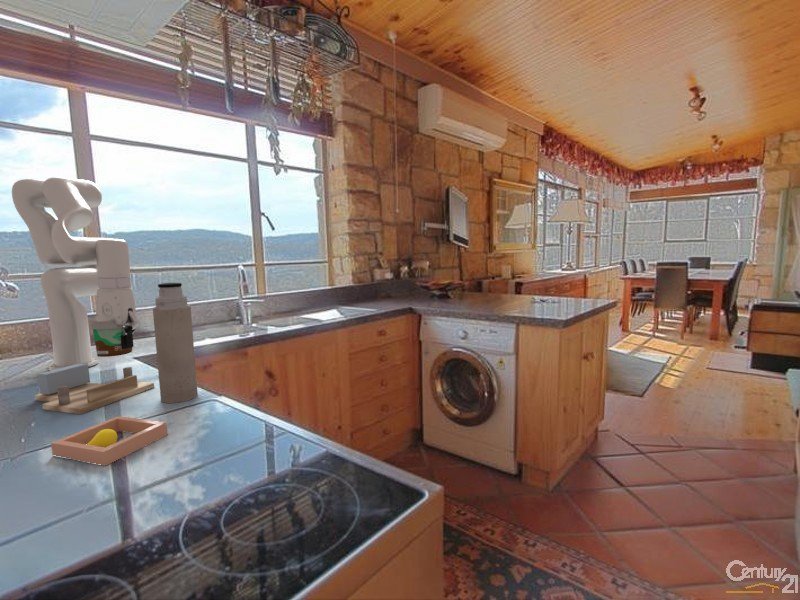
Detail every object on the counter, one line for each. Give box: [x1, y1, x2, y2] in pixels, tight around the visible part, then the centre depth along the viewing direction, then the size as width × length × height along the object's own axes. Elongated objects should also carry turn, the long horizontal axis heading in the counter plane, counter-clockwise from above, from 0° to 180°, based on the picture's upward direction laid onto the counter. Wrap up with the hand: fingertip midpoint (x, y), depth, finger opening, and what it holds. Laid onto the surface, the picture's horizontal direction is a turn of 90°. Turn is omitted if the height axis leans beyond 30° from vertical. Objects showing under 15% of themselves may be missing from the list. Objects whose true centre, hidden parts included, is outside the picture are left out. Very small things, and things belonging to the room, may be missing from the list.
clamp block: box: [37, 363, 91, 395], centre depth 107 cm, size 3×10×5 cm, turn 162°
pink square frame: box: [50, 415, 169, 466], centre depth 77 cm, size 12×12×2 cm
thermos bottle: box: [152, 282, 199, 404], centre depth 101 cm, size 8×8×28 cm
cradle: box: [34, 366, 155, 415], centre depth 104 cm, size 21×19×5 cm
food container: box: [90, 320, 133, 358], centre depth 118 cm, size 12×6×10 cm, turn 168°
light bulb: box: [87, 429, 118, 448], centre depth 75 cm, size 3×6×4 cm, turn 141°
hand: (119, 346), depth 119 cm, fingers closed on food container, 5 cm apart
